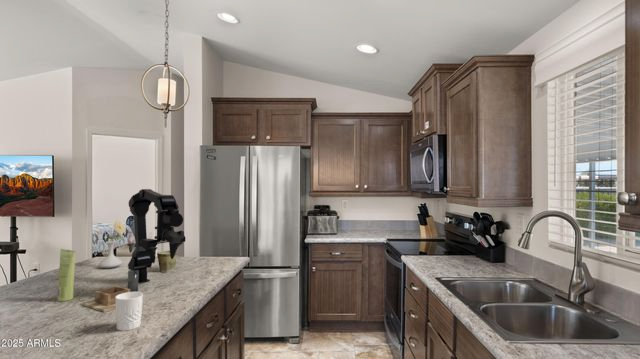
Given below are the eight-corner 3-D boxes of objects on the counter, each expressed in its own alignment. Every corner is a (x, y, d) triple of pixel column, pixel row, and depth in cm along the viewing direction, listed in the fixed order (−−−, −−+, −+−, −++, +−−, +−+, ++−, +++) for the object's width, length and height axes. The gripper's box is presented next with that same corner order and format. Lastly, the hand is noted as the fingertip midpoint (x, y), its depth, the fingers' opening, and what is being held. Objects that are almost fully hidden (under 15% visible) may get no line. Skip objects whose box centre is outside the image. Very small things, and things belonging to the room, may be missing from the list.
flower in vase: (104, 270, 178) (105, 222, 179) (94, 267, 184) (95, 221, 185) (129, 266, 189) (130, 221, 190) (119, 263, 195) (120, 219, 196)
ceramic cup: (172, 273, 175) (172, 254, 175) (152, 273, 175) (153, 253, 175) (182, 267, 188) (183, 249, 188) (164, 267, 188) (165, 249, 188)
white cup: (121, 321, 113) (122, 291, 113) (146, 321, 114) (147, 291, 114) (109, 332, 105) (110, 299, 105) (135, 331, 106) (136, 299, 106)
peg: (125, 292, 143) (125, 271, 143) (134, 290, 147) (134, 269, 147) (131, 294, 141) (131, 272, 141) (140, 291, 145) (140, 270, 145)
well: (82, 305, 128) (83, 292, 128) (119, 294, 140) (120, 283, 140) (104, 312, 121) (104, 298, 121) (141, 300, 133) (141, 288, 134)
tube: (76, 296, 137) (77, 248, 138) (73, 300, 133) (75, 250, 133) (59, 298, 135) (60, 248, 135) (55, 302, 130) (57, 251, 130)
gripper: (157, 228, 134) (156, 268, 134) (194, 224, 150) (193, 259, 150) (139, 226, 139) (138, 264, 139) (177, 221, 155) (176, 255, 155)
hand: (163, 260), depth 146 cm, fingers open, 9 cm apart
